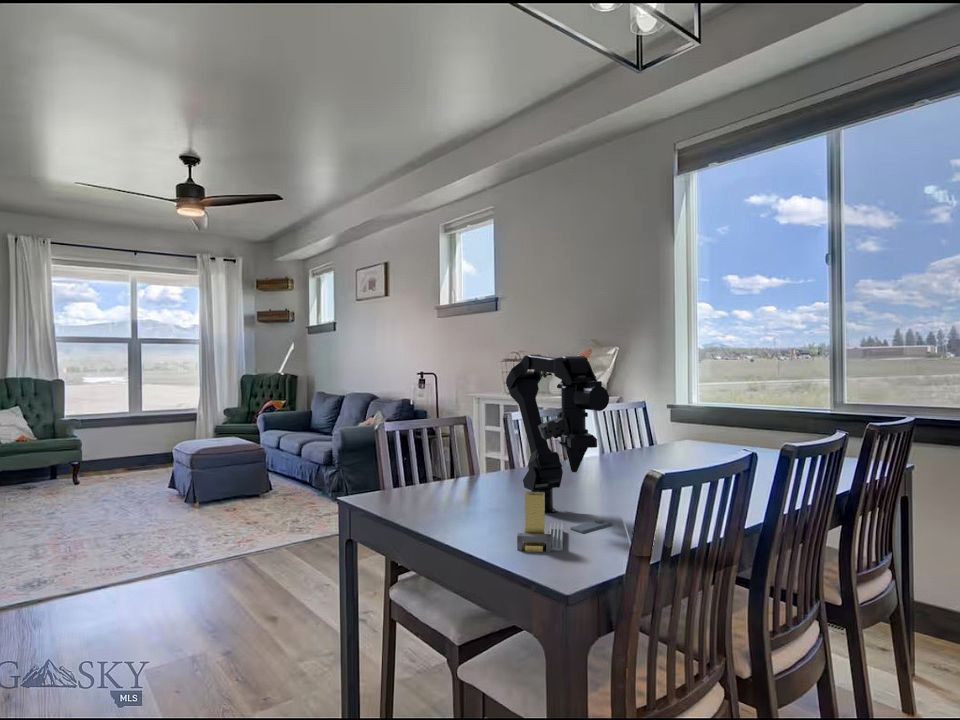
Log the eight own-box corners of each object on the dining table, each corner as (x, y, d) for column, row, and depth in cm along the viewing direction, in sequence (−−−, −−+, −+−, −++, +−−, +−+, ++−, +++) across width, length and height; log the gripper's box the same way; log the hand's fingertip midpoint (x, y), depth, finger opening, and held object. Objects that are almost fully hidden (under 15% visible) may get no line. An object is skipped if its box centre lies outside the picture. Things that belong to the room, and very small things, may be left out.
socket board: (512, 533, 136) (512, 516, 136) (564, 534, 135) (563, 517, 135) (504, 556, 121) (504, 537, 121) (563, 558, 119) (563, 539, 119)
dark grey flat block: (569, 535, 136) (569, 527, 136) (600, 527, 142) (600, 518, 142) (582, 539, 133) (582, 531, 132) (612, 530, 139) (612, 522, 139)
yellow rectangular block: (526, 542, 127) (525, 491, 127) (544, 542, 126) (544, 492, 126) (524, 551, 121) (523, 498, 121) (543, 552, 120) (543, 498, 120)
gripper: (533, 405, 150) (533, 465, 150) (549, 412, 132) (550, 481, 132) (575, 404, 151) (576, 464, 151) (597, 411, 133) (598, 479, 133)
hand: (574, 472), depth 142 cm, fingers closed
